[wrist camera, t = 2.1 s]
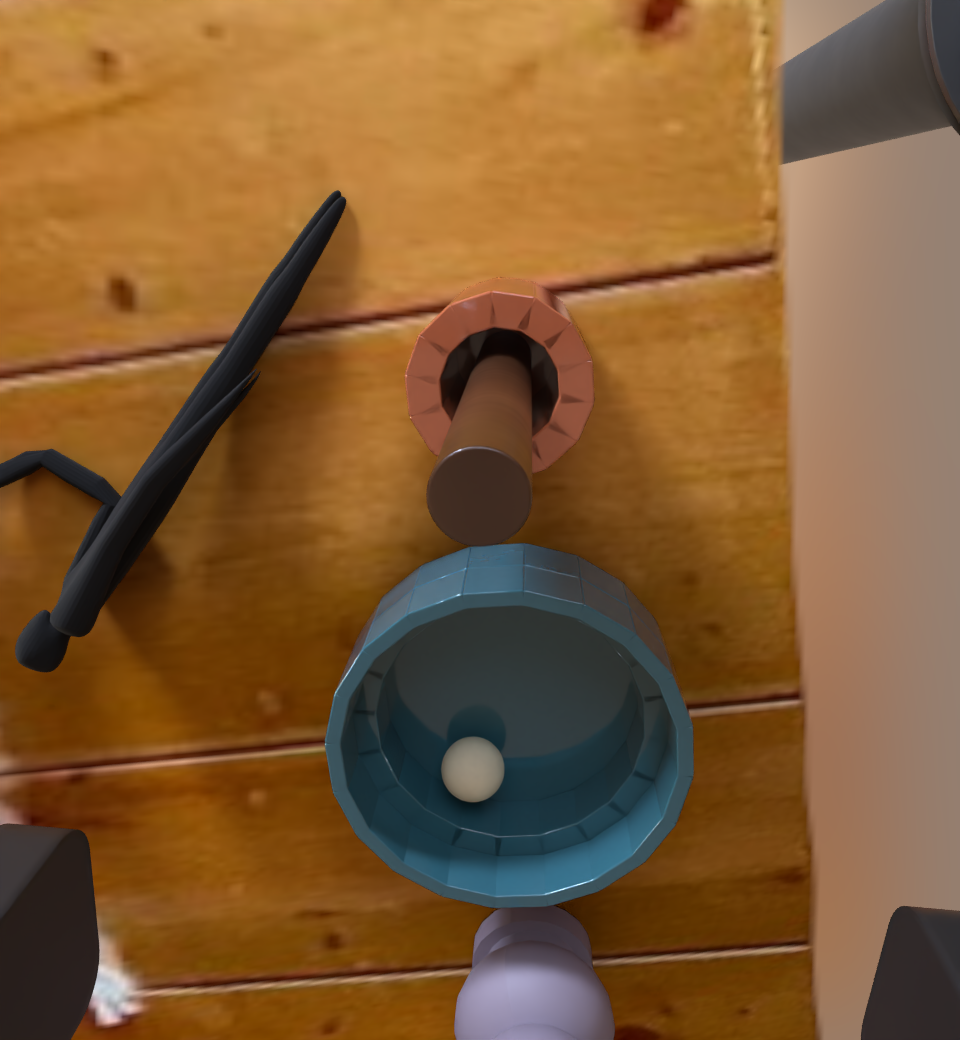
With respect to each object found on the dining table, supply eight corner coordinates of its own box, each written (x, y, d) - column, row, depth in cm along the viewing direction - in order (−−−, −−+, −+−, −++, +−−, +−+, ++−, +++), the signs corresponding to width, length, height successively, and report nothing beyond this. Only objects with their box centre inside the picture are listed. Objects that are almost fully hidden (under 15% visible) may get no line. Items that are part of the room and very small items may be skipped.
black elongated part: (158, 59, 28) (-178, 631, 34) (379, 227, 32) (43, 716, 38) (177, 63, 35) (-104, 536, 41) (356, 200, 39) (76, 616, 45)
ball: (502, 722, 43) (500, 758, 40) (507, 775, 44) (506, 814, 41) (441, 725, 43) (435, 761, 40) (447, 778, 44) (441, 817, 41)
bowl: (668, 528, 40) (691, 579, 34) (674, 816, 45) (695, 903, 39) (332, 550, 41) (300, 603, 35) (374, 827, 46) (352, 913, 40)
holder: (577, 269, 36) (589, 282, 29) (585, 424, 38) (598, 474, 31) (423, 283, 37) (395, 299, 29) (439, 435, 39) (416, 487, 31)
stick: (529, 328, 37) (528, 442, 18) (533, 381, 37) (535, 544, 18) (477, 332, 37) (420, 450, 18) (481, 385, 38) (431, 551, 19)
